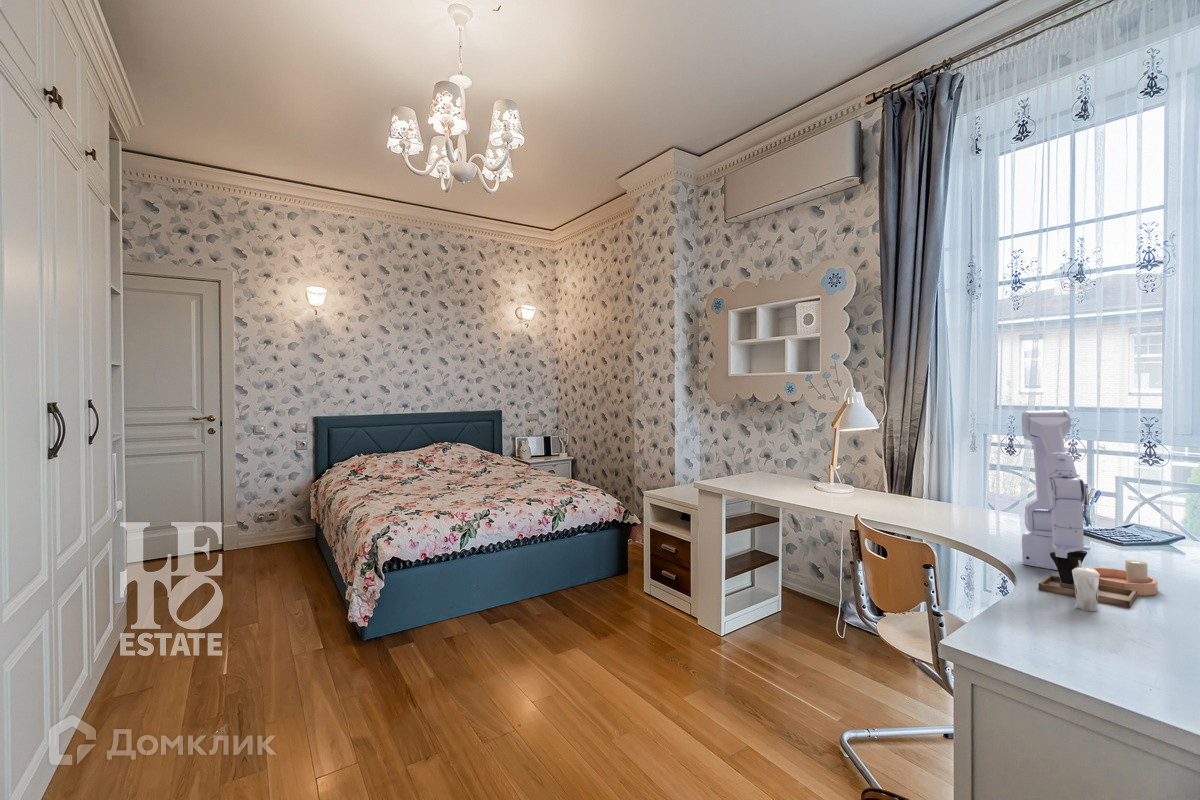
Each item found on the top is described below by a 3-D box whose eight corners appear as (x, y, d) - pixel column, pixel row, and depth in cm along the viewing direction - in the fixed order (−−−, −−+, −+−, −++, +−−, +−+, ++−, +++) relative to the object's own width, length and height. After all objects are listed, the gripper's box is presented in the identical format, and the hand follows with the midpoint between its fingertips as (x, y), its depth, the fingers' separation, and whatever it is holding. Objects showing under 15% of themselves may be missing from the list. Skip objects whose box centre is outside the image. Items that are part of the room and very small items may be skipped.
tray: (1038, 589, 129) (1038, 583, 129) (1049, 580, 135) (1049, 574, 135) (1129, 607, 117) (1129, 601, 117) (1137, 597, 123) (1136, 590, 123)
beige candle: (1125, 586, 128) (1124, 562, 128) (1126, 583, 130) (1125, 559, 130) (1147, 590, 125) (1146, 565, 125) (1148, 586, 127) (1147, 562, 127)
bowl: (1078, 585, 131) (1077, 575, 131) (1089, 574, 139) (1089, 564, 139) (1152, 599, 121) (1152, 588, 121) (1160, 586, 129) (1160, 576, 129)
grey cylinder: (1058, 588, 129) (1057, 564, 129) (1062, 585, 131) (1061, 561, 131) (1078, 592, 126) (1077, 567, 126) (1082, 588, 128) (1081, 564, 128)
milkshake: (1094, 605, 119) (1092, 561, 119) (1105, 614, 114) (1103, 568, 114) (1068, 602, 121) (1066, 559, 121) (1078, 611, 116) (1076, 566, 116)
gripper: (1082, 533, 121) (1084, 592, 121) (1095, 524, 130) (1098, 578, 130) (1043, 528, 127) (1045, 585, 126) (1058, 519, 135) (1061, 572, 135)
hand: (1069, 581), depth 128 cm, fingers closed on grey cylinder, 4 cm apart
